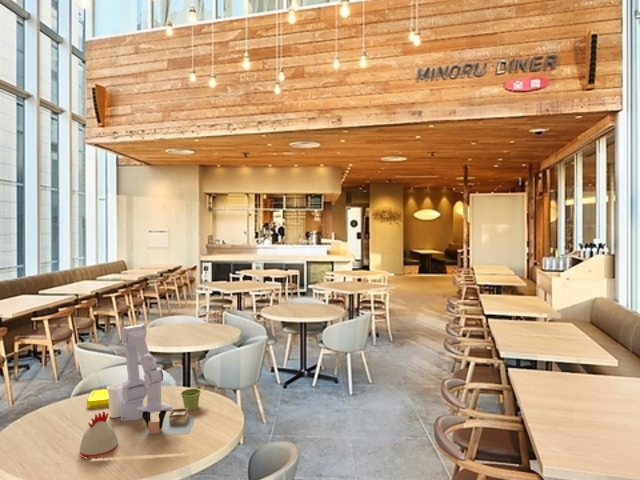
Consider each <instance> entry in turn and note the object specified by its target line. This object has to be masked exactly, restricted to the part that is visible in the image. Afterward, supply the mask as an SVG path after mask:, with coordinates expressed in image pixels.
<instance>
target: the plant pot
mask: <svg viewBox="0 0 640 480" xmlns="http://www.w3.org/2000/svg"><path fill="white" fill-rule="evenodd" d="M201 393H202V390H201V389H199V388H187V389H185V390H183V391H181V392H180V396H181V398H182V400H183V406H184V407H183V408H188V411H194V410H197V409H198V408H199V401H200V395H201Z"/></svg>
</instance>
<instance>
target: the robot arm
mask: <svg viewBox="0 0 640 480" xmlns="http://www.w3.org/2000/svg"><path fill="white" fill-rule="evenodd" d="M146 339H147V326H146V325H145V324H144V323H141V324H137V325H130V326H122V328H121V330H120V342H121V345H124V347H125V357H126V358H125V360H126V369H127V371H126V372H127V381H126V382H124V383H123V384H124V385H123V387H122V398H123V400H124V401H123V402H122V404H121V416H120V421H137V420H141V419H143V420H144V422H145V424H146V427H147V428H148V422H149V420H150V419H151V414H152V413H157V412H158V418H159V421H160V425H159V427H160V429H162V426H163V420H164V417H166V415H167V413H171V411H172V409H173V405H168V404H167V405H166V404H162V382H163V380H164V373H163V370H162V368H160V366H159V365H157V362H156V360H155V357H154V355H153V354H151V353H150V351H149V348H148V344H147V342H146ZM138 354H139V355H140V359H139V358H138V357H139V356H138ZM139 361H140V362H139ZM139 363H140V365H141V368H142V370H143V373H144V375H143V379H142V378H141V377H140V369H139ZM145 398H146V399H145ZM144 400H146V401H147V402H146V403H147V405H145V406H144Z"/></svg>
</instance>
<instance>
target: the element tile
mask: <svg viewBox="0 0 640 480" xmlns="http://www.w3.org/2000/svg"><path fill="white" fill-rule="evenodd" d="M87 407H88V408H87ZM96 407H97V408H96ZM106 407H109V401H108V391H107V388H103V389H94V390H92V391H90V394H89V395H88V397H87V399H86V408H87V409H98V408H106Z"/></svg>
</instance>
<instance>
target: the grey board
mask: <svg viewBox="0 0 640 480" xmlns="http://www.w3.org/2000/svg"><path fill="white" fill-rule="evenodd" d="M196 417H197V416H196V415H188V418H187V421H186V423H182V424H169V416H167V417H166V416H165V417H164V420H163V426H162V429H161V431H160V433H157V434H149V431H148V428H147V426H146V427H145V429H144V430H143V431H142V433H141V435H140V437H153V436H171V435H173V436H174V435H175V436H176V435H189V434H190V433H191V429H192V427H193V424H194V422H195V420H196Z"/></svg>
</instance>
